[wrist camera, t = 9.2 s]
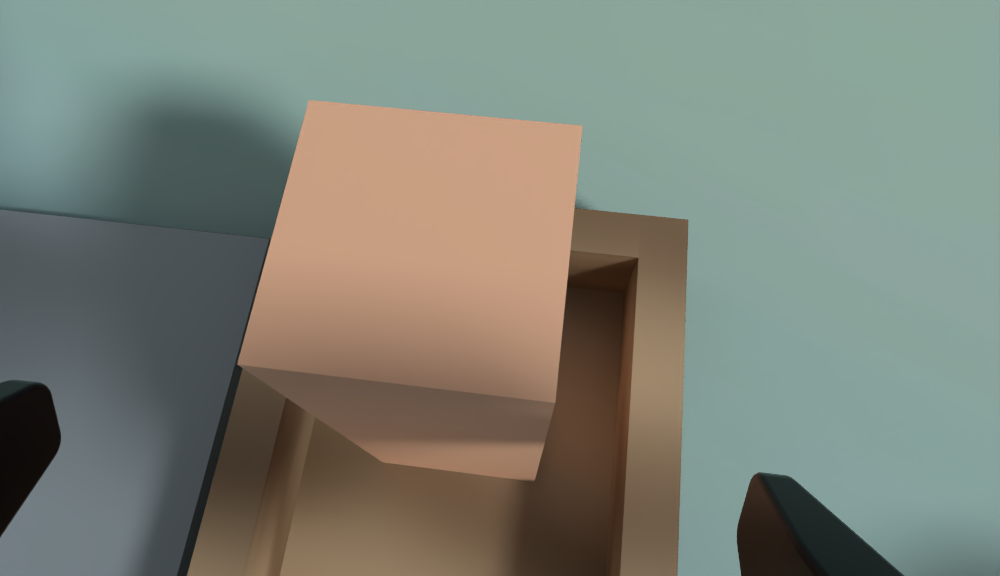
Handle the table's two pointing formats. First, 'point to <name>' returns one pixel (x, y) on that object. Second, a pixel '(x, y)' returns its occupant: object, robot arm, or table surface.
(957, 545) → the table surface
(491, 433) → the block
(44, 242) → the mat
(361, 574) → the tray
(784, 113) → the table surface
